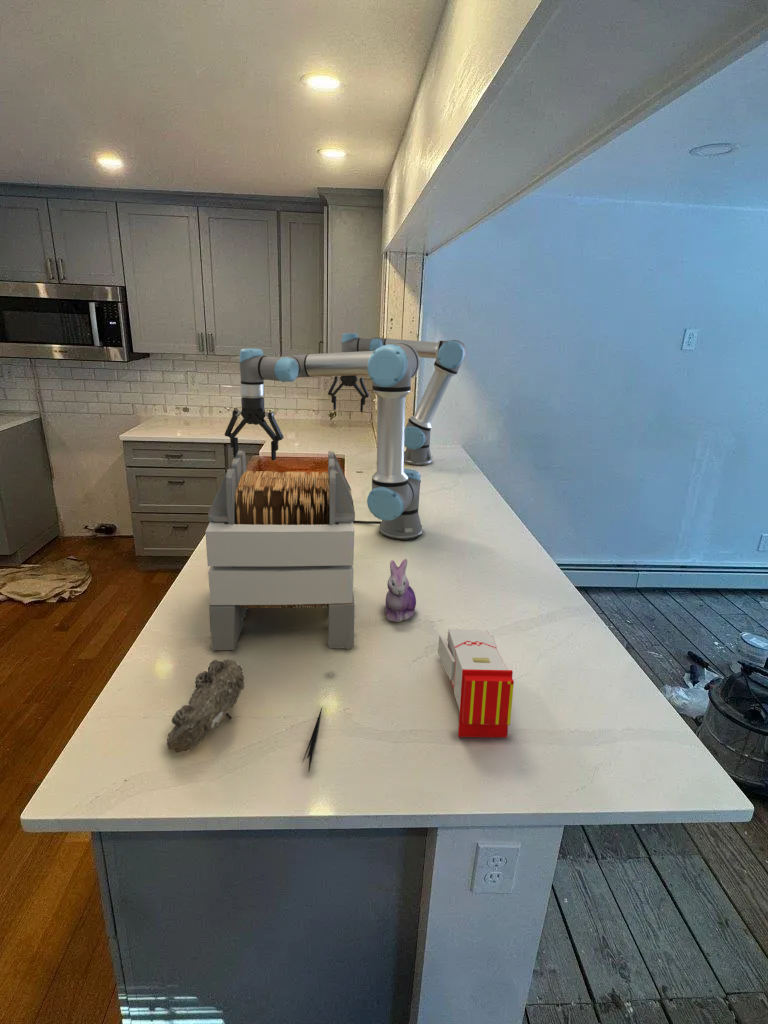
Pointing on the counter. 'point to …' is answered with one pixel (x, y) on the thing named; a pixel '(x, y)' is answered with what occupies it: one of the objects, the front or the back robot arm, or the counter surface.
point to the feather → (313, 740)
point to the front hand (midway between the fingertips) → (254, 458)
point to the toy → (478, 682)
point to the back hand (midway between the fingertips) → (348, 410)
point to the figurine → (399, 594)
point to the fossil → (206, 705)
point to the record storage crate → (281, 548)
